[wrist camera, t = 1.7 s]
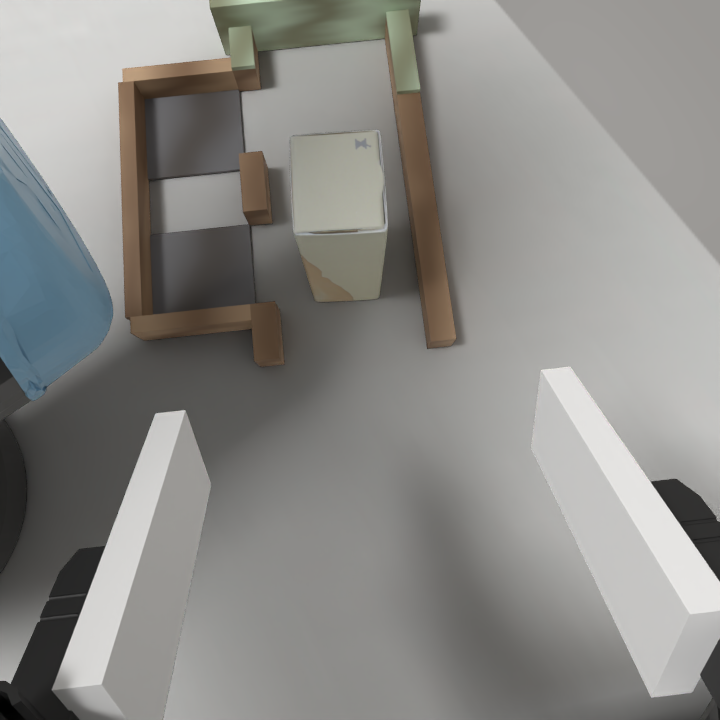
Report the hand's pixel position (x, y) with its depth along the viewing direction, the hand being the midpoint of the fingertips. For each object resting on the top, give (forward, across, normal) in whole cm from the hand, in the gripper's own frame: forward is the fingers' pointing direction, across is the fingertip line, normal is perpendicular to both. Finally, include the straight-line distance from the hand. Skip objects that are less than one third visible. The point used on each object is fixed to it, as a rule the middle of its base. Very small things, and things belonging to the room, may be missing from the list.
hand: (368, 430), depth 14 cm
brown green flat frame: (+26, -3, -1) cm, 26 cm away
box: (+22, 0, -5) cm, 22 cm away
